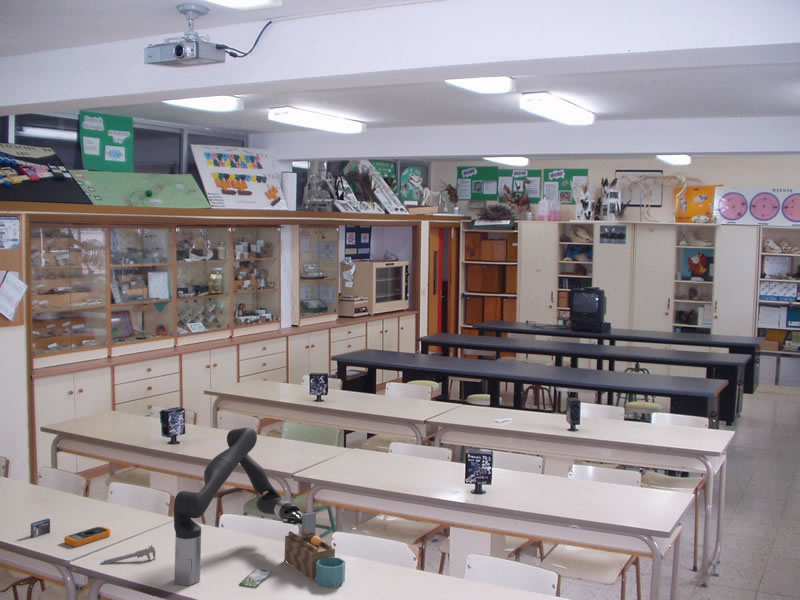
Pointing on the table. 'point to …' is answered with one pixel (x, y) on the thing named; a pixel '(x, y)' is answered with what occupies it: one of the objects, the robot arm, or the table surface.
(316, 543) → the ball
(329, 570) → the cup
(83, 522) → the table surface
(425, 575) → the table surface
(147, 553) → the caliper
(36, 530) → the mini dv tape
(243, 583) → the smartphone
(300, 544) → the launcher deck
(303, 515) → the gray rectangular block
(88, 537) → the multimeter
